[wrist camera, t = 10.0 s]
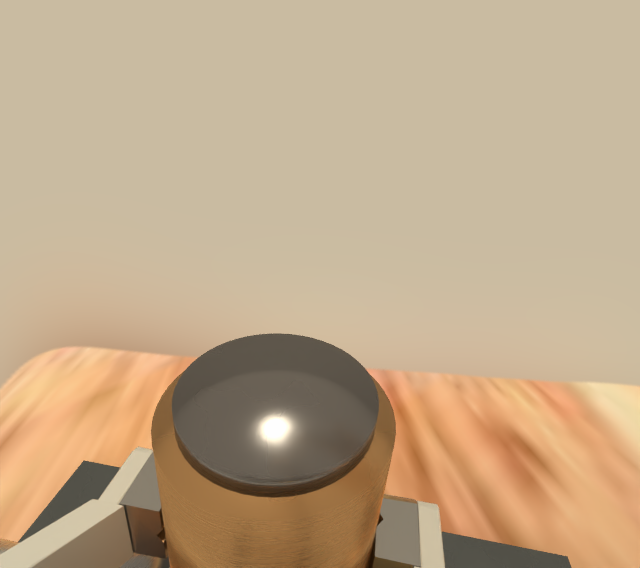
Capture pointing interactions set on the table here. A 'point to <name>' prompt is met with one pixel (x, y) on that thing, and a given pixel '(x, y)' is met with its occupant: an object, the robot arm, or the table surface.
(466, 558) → the shaft bench
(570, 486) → the table surface
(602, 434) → the table surface
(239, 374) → the amber capped cylinder
